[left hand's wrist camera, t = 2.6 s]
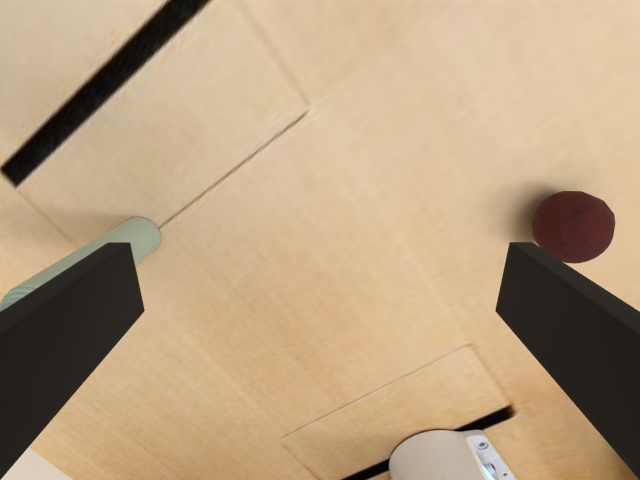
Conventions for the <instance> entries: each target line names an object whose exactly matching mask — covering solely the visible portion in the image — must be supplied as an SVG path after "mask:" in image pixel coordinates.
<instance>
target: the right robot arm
mask: <svg viewBox="0 0 640 480" xmlns="http://www.w3.org/2000/svg"><path fill="white" fill-rule="evenodd" d="M389 471H390V476H391V479H390V480H518V479H517V478H516V476H515V475H514V474H513V472H512V471H511V469H510V468H509V466H508V465H507V464H506V462H505V461H504V459H503V458H502V457H501V455H500V454H499V452H498V451H497V450H496V448H495V447H494V445H493V444H492V442H491V441H490V440H489V438H488V437H487V435H486V434H485V433H484V432H483V431H482V430H469V431H464V432H456V431H449V430H433V431H427V432H423V433H420V434H417V435H415V436H412V437H410V438H409V439H407V440H405V441H404V442H403V443H401V444H400V445H399V446H398V447H397V448H396V449H395V451H394V452H393V454H392V456H391V458H390V462H389Z"/></svg>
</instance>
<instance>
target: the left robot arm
mask: <svg viewBox="0 0 640 480" xmlns="http://www.w3.org/2000/svg"><path fill="white" fill-rule="evenodd" d="M143 312H144V306H143V301H142V296H141V291H140V287H139V282H138V277H137V272H136V268H135V263H134V258H133V253H132V248H131V244H130V242H108V243H106V244H105V245H103V246H102V247H100V248H99V249H97V250H95V251H94V252H92V253H91V254H89V255H88V256H86V257H85V258H83V259H81V260H80V261H78V262H77V263H75V264H74V265H72V266H71V267H69V268H68V269H66V270H64V271H63V272H61V273H60V274H58V275H57V276H55V277H54V278H52V279H50V280H49V281H47V282H46V283H44V284H43V285H41V286H40V287H38V288H37V289H35V290H33V291H32V292H30V293H29V294H27V295H26V296H24V297H23V298H21V299H19V300H18V301H16V302H15V303H13V304H12V305H10V306H9V307H7V308H6V309H4V310H2V311H1V312H0V480H1V478H2V477H3V476H4V475H5V474H6V473H7V471H8V470H9V469H10V468H11V467H12V466H13V464H14V463H15V462H16V461H17V460H18V458H19V457H20V456H21V455H22V454H23V453H24V451H25V450H26V449H27V448H28V447H29V446H30V444H31V443H32V442H33V441H34V440H35V439H36V437H37V436H38V435H39V434H40V433H41V432H42V430H43V429H44V428H45V427H46V426H47V425H48V423H49V422H50V421H51V420H52V419H53V418H54V416H55V415H56V414H57V413H58V412H59V411H60V409H61V408H62V407H63V406H64V405H65V404H66V402H67V401H68V400H69V399H70V398H71V396H72V395H73V394H74V393H75V392H76V391H77V389H78V388H79V387H80V386H81V385H82V384H83V382H84V381H85V380H86V379H87V378H88V377H89V375H90V374H91V373H92V372H93V371H94V370H95V368H96V367H97V366H98V365H99V364H100V363H101V361H102V360H103V359H104V358H105V357H106V356H107V354H108V353H109V352H110V351H111V350H112V349H113V347H114V346H115V345H116V344H117V343H118V341H119V340H120V339H121V338H122V337H123V336H124V334H125V333H126V332H127V331H128V330H129V329H130V327H131V326H132V325H133V324H134V323H135V322H136V320H137V319H138V318H139V317H140V316H141V315H142V313H143ZM496 312H497V313H498V315H499V316H500V317H501V318H502V319H503V320H504V322H505V323H506V324H507V325H508V326H509V327H510V329H511V330H512V331H513V332H514V333H515V334H516V336H517V337H518V338H519V339H520V340H521V341H522V343H523V344H524V345H525V346H526V347H527V349H528V350H529V351H530V352H531V353H532V354H533V356H534V357H535V358H536V359H537V360H538V361H539V363H540V364H541V365H542V366H543V367H544V368H545V370H546V371H547V372H548V373H549V374H550V375H551V377H552V378H553V379H554V380H555V381H556V382H557V384H558V385H559V386H560V387H561V388H562V389H563V391H564V392H565V393H566V394H567V395H568V396H569V398H570V399H571V400H572V401H573V402H574V404H575V405H576V406H577V407H578V408H579V409H580V411H581V412H582V413H583V414H584V415H585V416H586V418H587V419H588V420H589V421H590V422H591V423H592V425H593V426H594V427H595V428H596V429H597V430H598V432H599V433H600V434H601V435H602V436H603V437H604V439H605V440H606V441H607V442H608V443H609V444H610V446H611V447H612V448H613V449H614V450H615V451H616V453H617V454H618V455H619V456H620V457H621V459H622V460H623V461H624V462H625V463H626V464H627V466H628V467H629V468H630V469H631V470H632V471H633V473H634V474H635V475H636V476H637V477H638V478H639V480H640V312H639V311H638V310H636V309H634V308H633V307H631V306H630V305H628V304H627V303H625V302H624V301H622V300H621V299H619V298H617V297H616V296H614V295H613V294H611V293H610V292H608V291H607V290H605V289H603V288H602V287H600V286H599V285H597V284H596V283H594V282H593V281H591V280H590V279H588V278H586V277H585V276H583V275H582V274H580V273H579V272H577V271H576V270H574V269H572V268H571V267H569V266H568V265H566V264H565V263H563V262H562V261H560V260H559V259H557V258H555V257H554V256H552V255H551V254H549V253H548V252H546V251H545V250H543V249H541V248H540V247H538V246H537V245H535V244H534V243H532V242H510V244H509V248H508V253H507V258H506V263H505V268H504V272H503V277H502V282H501V287H500V291H499V296H498V301H497V306H496Z"/></svg>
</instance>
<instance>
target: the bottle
mask: <svg viewBox="0 0 640 480" xmlns="http://www.w3.org/2000/svg"><path fill="white" fill-rule="evenodd" d="M160 241H161V235H160V232H159V229H158V228H157V226H156V225H155V224H154V223H153V222H151V221H150V220H148V219H146V218H142V217H134V218H131V219H129V220H127V221H125V222H124V223H122V224H120V225H119V226H117V227H115V228H114V229H112V230H110V231H108V232H107V233H105V234H103V235H102V236H100V237H98V238H97V239H95V240H93V241H92V242H90V243H88V244H87V245H85V246H83V247H82V248H80V249H78V250H77V251H75V252H73V253H72V254H70V255H68V256H66V257H65V258H63V259H61V260H60V261H58V262H56V263H55V264H53V265H51V266H50V267H48V268H46V269H45V270H43V271H41V272H40V273H38V274H36V275H35V276H33V277H31V278H29V279H28V280H26V281H24V282H23V283H21V284H19V285H18V286H16V287H14V288H13V289H11V290H10V291H9V292H8V293H7V294H6V295H5V296H4V297H3V299H2V301H1V304H0V312H1V311H2V310H4V309H6V308H7V307H9V306H10V305H12V304H13V303H15V302H16V301H18V300H19V299H21V298H23V297H24V296H26V295H27V294H29V293H30V292H32V291H33V290H35V289H37V288H38V287H40V286H41V285H43V284H44V283H46V282H47V281H49V280H50V279H52V278H54V277H55V276H57V275H58V274H60V273H61V272H63V271H64V270H66V269H68V268H69V267H71V266H72V265H74V264H75V263H77V262H78V261H80V260H81V259H83V258H85V257H86V256H88V255H89V254H91V253H92V252H94V251H95V250H97V249H99V248H100V247H102V246H103V245H105V244H106V243H108V242H130V244H131V248H132V253H133V258H134V263H135V267H136V266H137V265H138V264H139V263H140V262H142V261H143V260H144V259H145V258H146V257H147V256H148V255H150V254H151V253H152V252H153V251H154V250H155V249H156V248H157V247H158V246H159V244H160Z"/></svg>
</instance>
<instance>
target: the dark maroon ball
mask: <svg viewBox="0 0 640 480" xmlns="http://www.w3.org/2000/svg"><path fill="white" fill-rule="evenodd" d="M614 227H615V217H614V213H613V212H612V211H611V210H610V208H609V207H608V206H607V204H606V203H605V202H604V201H603V200H601V199H599V198H596V197H594V196H592V195H589V194H587V193H584V192H581V191H562V192H560V193H557V194H554V195H551V196H550V197H548V198H547V199H546V200H545V201H543V202H542V203H541V205H540V206H539V208H538V210H537V212H536V215H535V219H534V222H533V235H534V238H535V240H536V242H537V243H538V245H539V247H540V248H541V249H543V250H545V251H546V252H548V253H549V254H551V255H552V256H554V257H555V258H557V259H559V260H560V261H562V262H565V263H581V262H586V261H589V260H591V259H594V258H596V257H597V256H599V255H600V254H602V253H603V252H604V251H605V250H606V249H607V248H608V246H609V245H610V243H611V241H612V238H613V234H614Z"/></svg>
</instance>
